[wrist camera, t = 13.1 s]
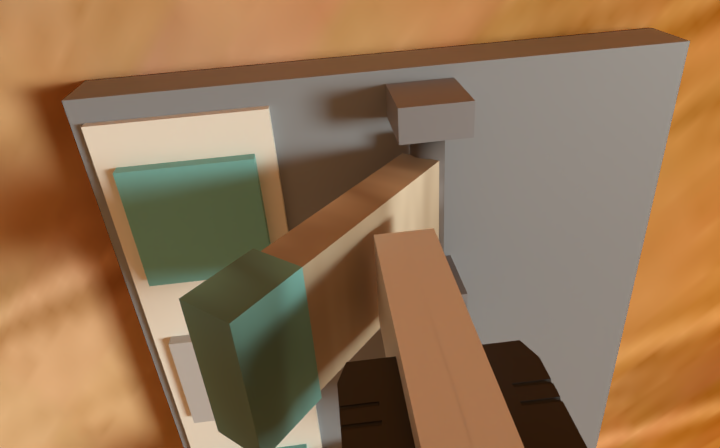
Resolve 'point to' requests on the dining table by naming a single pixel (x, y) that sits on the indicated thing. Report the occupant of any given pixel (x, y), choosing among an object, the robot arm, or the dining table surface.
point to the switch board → (370, 153)
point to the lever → (305, 301)
